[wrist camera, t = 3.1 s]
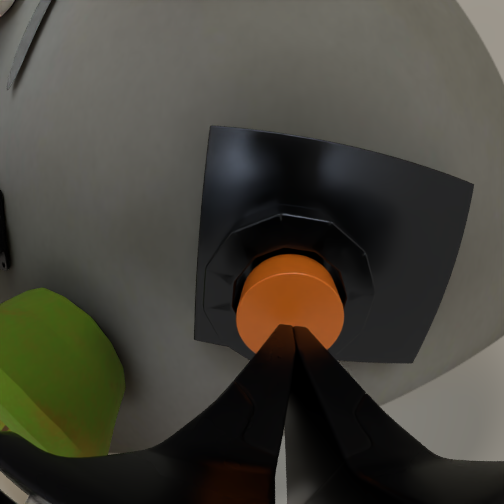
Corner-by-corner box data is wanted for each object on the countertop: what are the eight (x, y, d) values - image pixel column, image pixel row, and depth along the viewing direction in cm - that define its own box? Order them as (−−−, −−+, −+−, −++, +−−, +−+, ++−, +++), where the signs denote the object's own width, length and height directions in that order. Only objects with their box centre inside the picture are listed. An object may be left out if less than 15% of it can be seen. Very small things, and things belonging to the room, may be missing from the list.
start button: (237, 329, 11) (231, 355, 10) (248, 246, 10) (242, 264, 9) (323, 340, 11) (328, 368, 10) (345, 261, 10) (357, 281, 8)
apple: (7, 276, 17) (-83, 341, 6) (104, 251, 15) (-45, 365, 4) (68, 392, 21) (13, 470, 10) (173, 404, 19) (124, 529, 8)
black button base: (204, 317, 16) (183, 362, 12) (221, 130, 12) (196, 119, 8) (400, 341, 15) (423, 384, 11) (451, 179, 12) (497, 190, 8)
